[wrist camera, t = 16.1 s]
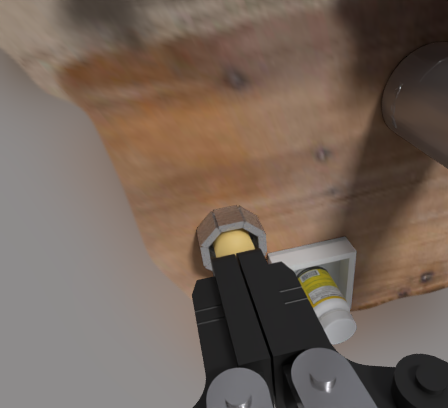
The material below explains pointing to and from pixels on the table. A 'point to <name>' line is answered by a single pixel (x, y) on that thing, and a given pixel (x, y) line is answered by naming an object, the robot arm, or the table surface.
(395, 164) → the table surface
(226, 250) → the yellow rounded lump
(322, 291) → the supplement bottle
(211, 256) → the socket
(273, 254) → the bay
